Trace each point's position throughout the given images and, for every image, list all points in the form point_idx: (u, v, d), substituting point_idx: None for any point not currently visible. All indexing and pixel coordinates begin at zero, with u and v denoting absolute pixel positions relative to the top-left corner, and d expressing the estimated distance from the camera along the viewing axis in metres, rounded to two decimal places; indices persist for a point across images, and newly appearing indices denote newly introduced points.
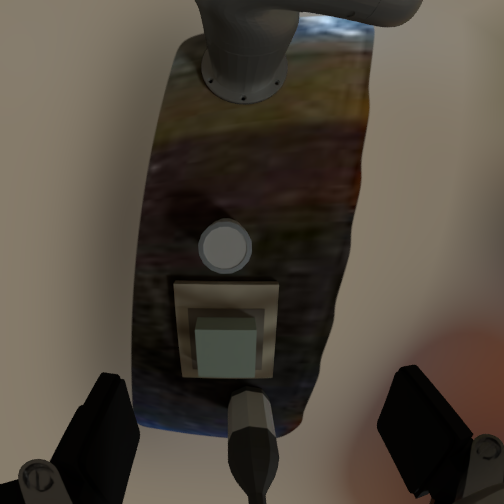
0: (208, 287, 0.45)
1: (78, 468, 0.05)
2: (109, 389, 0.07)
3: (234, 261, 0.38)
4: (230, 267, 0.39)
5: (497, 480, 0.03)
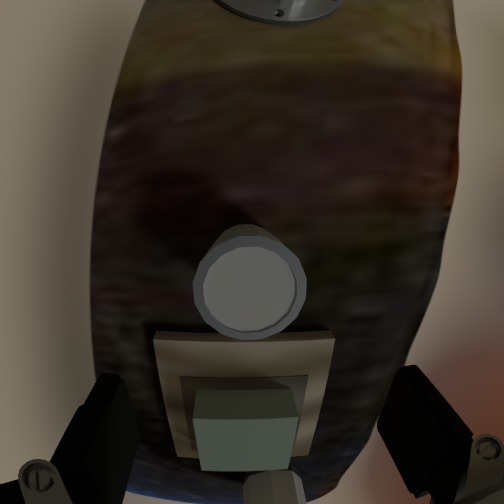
0: (214, 346, 0.25)
1: (78, 468, 0.05)
2: (109, 389, 0.07)
3: (269, 317, 0.18)
4: (260, 328, 0.18)
5: (497, 480, 0.03)
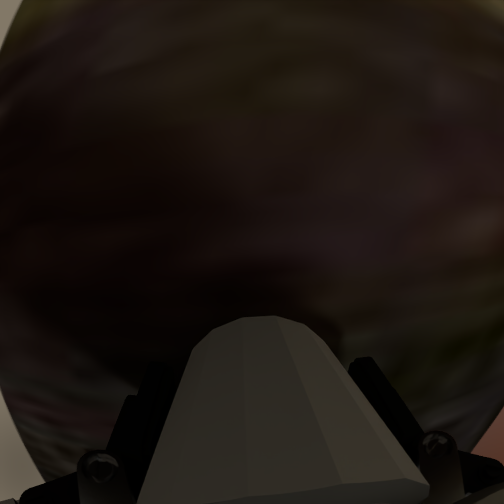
0: None
1: (141, 454, 0.05)
2: (161, 376, 0.08)
3: None
4: None
5: (443, 480, 0.04)
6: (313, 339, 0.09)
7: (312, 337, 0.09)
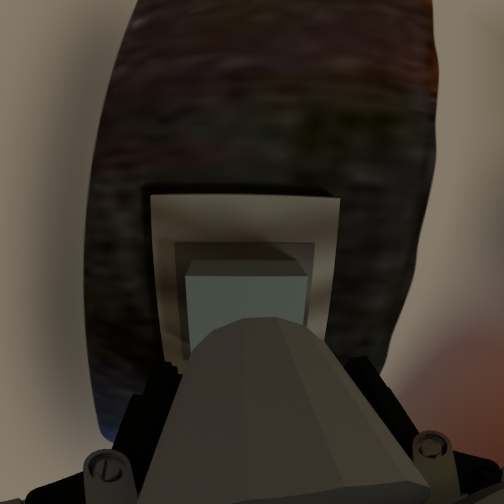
0: (213, 200, 0.24)
1: (148, 453, 0.06)
2: (166, 375, 0.08)
3: None
4: None
5: (436, 480, 0.04)
6: (313, 340, 0.09)
7: (312, 338, 0.09)
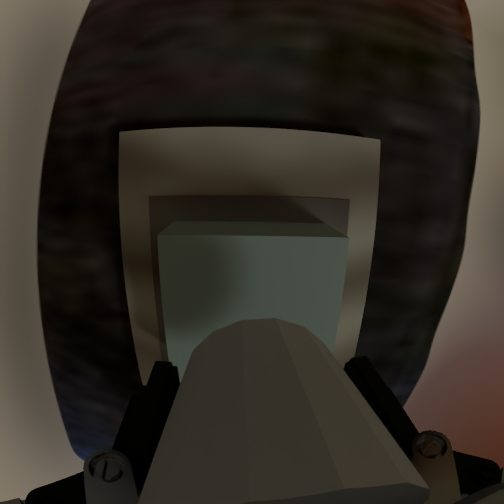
0: (206, 134, 0.16)
1: (148, 453, 0.06)
2: (166, 375, 0.08)
3: None
4: None
5: (436, 480, 0.04)
6: (313, 342, 0.09)
7: (312, 340, 0.09)
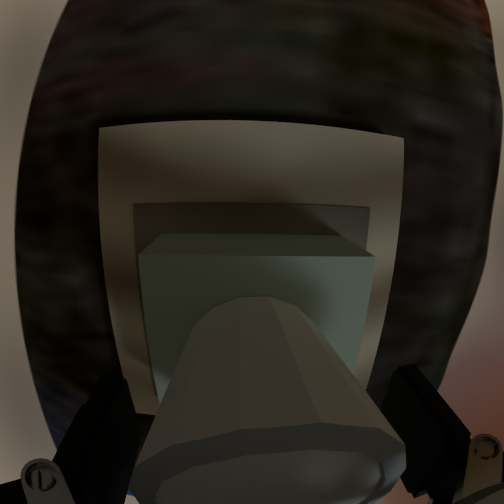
0: (200, 129, 0.13)
1: (81, 467, 0.05)
2: (111, 388, 0.07)
3: None
4: None
5: (495, 480, 0.03)
6: (302, 317, 0.10)
7: (301, 315, 0.10)
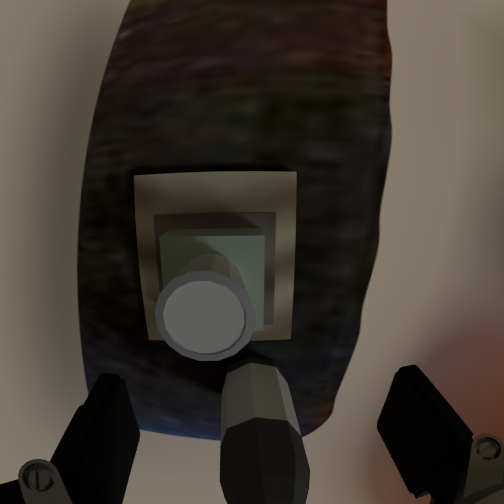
0: (186, 177, 0.28)
1: (78, 468, 0.05)
2: (109, 389, 0.07)
3: (223, 342, 0.20)
4: (216, 351, 0.20)
5: (497, 480, 0.03)
6: (227, 260, 0.24)
7: (227, 260, 0.25)
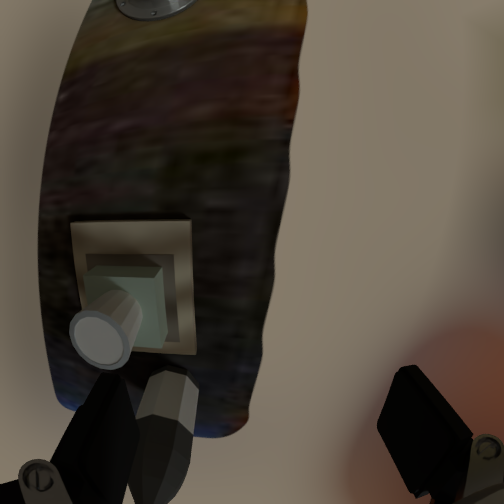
0: (105, 225, 0.33)
1: (78, 468, 0.05)
2: (109, 389, 0.07)
3: (112, 357, 0.26)
4: (109, 363, 0.26)
5: (497, 480, 0.03)
6: (125, 296, 0.30)
7: (126, 296, 0.30)
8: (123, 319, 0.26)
